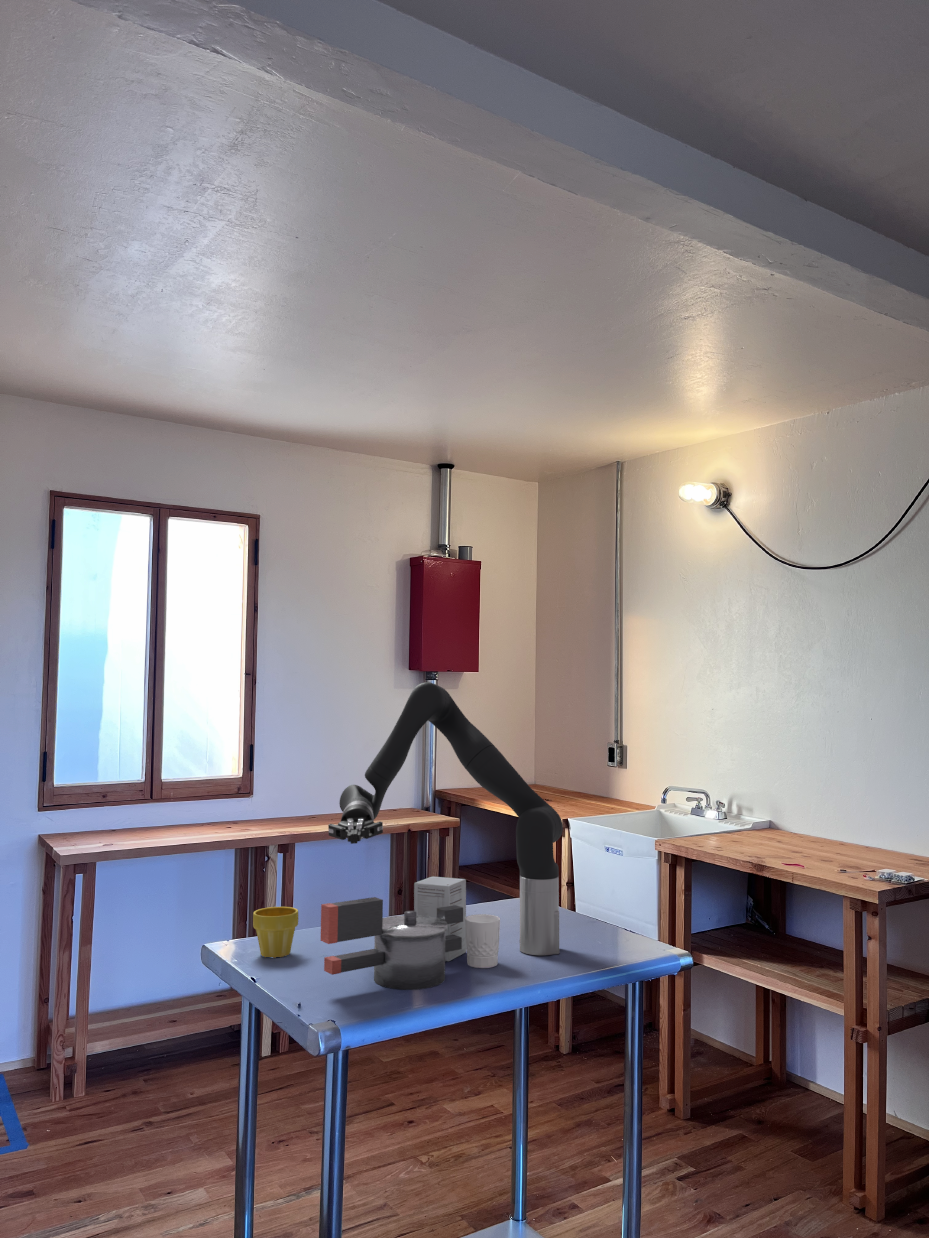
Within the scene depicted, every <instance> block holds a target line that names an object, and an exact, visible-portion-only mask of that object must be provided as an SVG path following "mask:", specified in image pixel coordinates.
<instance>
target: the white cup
mask: <svg viewBox="0 0 929 1238" xmlns="http://www.w3.org/2000/svg"><path fill="white" fill-rule="evenodd" d="M500 927H501V918H500V916H497V915H493V914H481V913H479V914H471V915H468V916H467V915H466V918H465V933H466V961H467V962H466V963H467V966H469V967H471V968H477V969H489V968H494V967H496V966H497V965H498V959H499V957H498V955H499V949H500V930H501V929H500Z"/></svg>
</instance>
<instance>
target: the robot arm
mask: <svg viewBox="0 0 929 1238" xmlns="http://www.w3.org/2000/svg"><path fill="white" fill-rule="evenodd" d="M427 722H429V723H430V724H432V725H433V726H434V727H435V728H436V729H437V730H438V731H439V732H440V733H441V734H443V736H444V737H445V739H447V741H448V742H449V744H450V746H451V748H452V749H453V751H454V753H455V755H456V757H457V759H458V760H459V762H460V764H461V765H462V766H463V767H464V769H465V770H466V771H467V772H468V773H469V775H470V776H471V777H472V778H473V779H474V781H475V782H476V783H477V784H479V785H480V786H481V788H483V789H484V790H486V791H487V792H489V793H490V794H492V796H495V798H497V799H498V800H500V801H502V802H503V803H505V804H506V805H507V806H508V807H509V808H510V809H511V810H512V811H513V813H515V815H516V816H517V818H518V819H517V822H516V828H515V841H516V843H515V844H516V845H515V846H516V847H515V848H516V862H517V866H518V869H519V943H518V944H519V951H520V952H522V953H523V954H527V955H530V956H531V955H533V956H551V955H559V954H560V910H559V909H560V908H559V905H560V903H559V902H560V901H559V900H560V899H559V897H560V895H559V894H560V893H559V890H560V889H559V888H560V886H559V885H560V884H559V883H560V882H559V880H560V879H559V877H560V874H559V871H560V870H559V865H558V863H557V862H556V861H555V857H554V856H555V855H554V843H556V842H557V841H558V840H559V839H560V838H561V837H562V834H563V830H564V824H563V820H562V818H561V816H560V814H559V813H558V812H557V810H555V809H554V808H553V807H552V806H551V805H550V804H549V803H548V802H547V801H545V799H543V798H542V797H541V796H540V795H539V794H538V793H537V792H536V791H535V790H534V789H533V788H532V787H531V786H530V785H529V784H528V783H527V782H526V781H525V779H524V778H523V777H522V776H521V774H520V773H519V772H518V771H517V770H516V769H515V767H513V766H512V764H511V762H509V760H507V759H506V758H505V756H504V755H503V753H502V752H501V751H500V750H499V749H498V748H497V747H496V745H494V744H493V742H492V741H490V739H489V738H488V737H487V736H486V735H484V733H483V732H481V730H479V729H478V728H477V727H476V725H474V724H473V723H471V721H470V720H469V719H468V718H467V717H466V716H465V714H464V713H463V712H462V710H461V709H460V707H459V706H458V705H457V703H456V702H455V700H454V699H453V697H452V696H451V695H450V693H449V692H448V691H447V689H445V688H444V687H441V686H439V685H438V684H436V683H433V682H428V681H426V682H422V683H419V684H418V685H416V686H415V687H413V690H412V691H411V693H410V695H409V697H408V698H407V700H406V702H405V705H404V708H403V709H402V711H401V714H400V715H399V717H398V719H397V721H396V723H395V725H394V727H393V729H392V731H391V732H390V734H389V736H388V738H387V739H386V740H385V742H384V744H383V745H382V747H381V748H380V750H379V751H378V753H377V754H376V756H375V757H374V758H373V760H372V762H370V765H369V766H368V767H367V769H366V771H365V772H364V778H365V780H367V782H368V783H369V784H370V785H371V786H372V787H373V789H374V790H375V791H374V795H373V794H372V793H371V792H369V791H368V790H367V789H364V788H363V787H362V786H360V785H358V784H351V785H348V786H347V787H345V788H344V789H343V791H342V792H341V794H340V797H339V801H338V802H339V803H338V804H339V808H340V811H341V812H342V815H341V817H340V818H341V819H340V822H338V823H337V824H335V823H329V824H328V825H327V826H328V836H329V837H332V838H335V839H339V840H341V841H343V840H347V842H348V843H350V844H358V842H361V841H362V840H363V839H366V840H367V839H370V838H373V837H376V836H379V835H381V834H383V833H384V826H383V821H381V820H380V821H377V822H375V820H376V818H377V817H378V815H379V813H380V810H381V808H382V807H381V806H382V804H383V801H384V798H385V795H386V793H387V791H388V790H389V787H390V785H391V784H392V782H393V781H394V779H395V778H396V776H397V775H398V774H399V772H400V771H401V769H402V768H403V766H404V764H405V762H406V759H407V757H408V754H409V752H410V750H411V746H412V744H413V741H414V740H415V738H416V736H418V733H419V732H420V730H421V729H422V727H423V726H424V725H425V724H426V723H427Z"/></svg>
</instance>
